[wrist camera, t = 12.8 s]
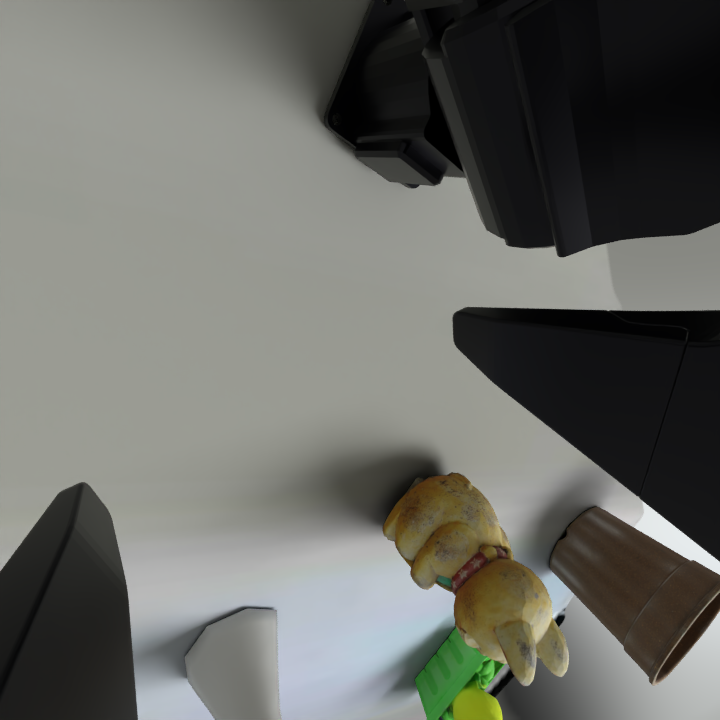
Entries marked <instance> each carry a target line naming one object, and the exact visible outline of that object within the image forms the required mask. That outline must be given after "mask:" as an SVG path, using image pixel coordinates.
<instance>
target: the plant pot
mask: <svg viewBox="0 0 720 720" xmlns="http://www.w3.org/2000/svg"><path fill="white" fill-rule="evenodd" d="M566 531H567V535H566V537H565V538H564V539H561V540H558V542H557V544H556V546H555V548H554V550H553V552H552V555H551V559H550V568H551V570H552V572H553V573H554V574H555V575H556V576H557V577H558V578H559V579H560V580H561V581H562V582H563V583H564V584H565V585H566V586H567V587H568V588H569V589H570V590H571V591H572V592H573V593H574V594H575V595H576V596H577V598H579V600H581V602H582V603H583V604H584V605H585V606H586V607H587V608H588V609H589V610H590V611H591V612H592V613H593V614H594V615H595V616H596V617H597V618H598V619H599V620H600V621H601V623H602V624H603V625H604V626H605V627H606V628H607V629H608V630H609V631H610V632H611V633H612V634H613V635H614V636H615V637H616V638H617V639H618V641H619V642H620V643H621V644H622V645H623V646H624V650H625V651H626V653H627V654H628V655H629V656H630V657H631V658H632V659H633V660H634V661H635V662H636V663H637V664H638V665H639V666H640V668H641V669H642V670H643V671H644V672H645V673H646V674H647V675H648V676H649V682H650V683H651V684H652V685H653V686H655V685H657V684H658V683H660V682H661V681H662V680H664V679H665V678H666V677H667V676H668V675H669V674H670V673H671V672H672V670H673V669H674V668H675V667H676V666H677V665H678V664H679V662H680V661H681V660H682V659H683V658H684V657H685V655H686V654H687V653H688V652H689V651H690V649H691V648H692V647H693V646H694V644H695V643H696V642H697V641H698V640H699V639H700V637H701V636H702V635H703V633H704V632H705V631H706V629H707V628H708V627H709V626H710V624H711V623H712V621H713V620H714V618H715V617H716V616H717V614H718V613H719V611H720V575H719V574H717V573H715V572H713V571H712V570H710V569H708V568H706V567H705V566H703V565H701V564H699V563H698V562H696V561H694V560H692V561H690V560H688V559H686V558H684V557H683V556H681V555H679V554H678V553H676V552H674V551H673V550H671V549H669V548H667V547H666V546H664V545H662V544H661V543H659V542H657V541H656V540H654V539H652V538H651V537H649V536H647V535H645V534H643V533H642V532H640V531H638V530H637V529H635V528H633V527H632V526H630V525H628V524H627V523H625V522H623V521H622V520H620V519H618V518H617V517H615V516H613V515H612V514H610V513H609V512H607V511H605V510H603V509H601V508H599V507H594V508H591V509H589V510H587V511H585V512H584V513H582V514H581V515H580V516H578V517H577V519H576V520H575V521H573V522H572V523H571V525H570V526H569V527H568V528H567V530H566Z"/></svg>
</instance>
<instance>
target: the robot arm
mask: <svg viewBox="0 0 720 720" xmlns="http://www.w3.org/2000/svg"><path fill="white" fill-rule="evenodd" d="M334 114H335V115H336V116H337V118H338V123H337V124H336V125H334V123H333V121H332V117H333V115H334ZM324 123H325V126H326V128H327V129H328V130H329V131H331V132H332V133H333V134H335V135H336V136H338V137H339V138H340V139H342V140H343V141H344V142H346V143H347V144H348V145H350V146H351V147H353V148H354V149H355V150H354V153H355V156H356V158H357V159H358V160H360V161H361V162H363V163H364V164H365V165H367V166H368V167H370V168H371V169H372V170H374V171H375V172H377V173H378V174H379V175H381V176H382V177H383V178H385V179H386V180H388V181H389V182H398V183H402V184H403V185H404V186H406V187H408V188H417V187H418V186H419V185H429V186H435V185H438V184H440V183H441V181H442V179H443V177H444V176H445V177H460V178H466V179H467V182H468V185H469V188H470V190H471V193H472V196H473V199H474V202H475V204H476V207H477V210H478V213H479V216H480V218H481V220H482V222H483V224H484V226H485V228H486V230H488V231H489V232H491V233H493V234H495V235H497V236H498V237H500V238H503V239H505V243H506V245H508V246H511V247H519V248H528V249H533V248H549V247H554V246H555V247H556V251H557V255H558V256H559V257H566V256H569V255H571V254H574V253H577V252H579V251H582V250H585V249H587V248H590V247H593V246H597V245H601V244H606V243H610V242H614V241H618V240H626V239H634V238H643V237H644V238H645V237H659V236H675V235H687V234H691V233H694V232H697V231H699V230H702V229H704V228H707V227H709V226H712V225H714V224H717V223H719V222H720V0H405V1H404V0H387V5H385V4H384V2H383V0H371V3H370V5H369V8H368V10H367V12H366V15H365V17H364V20H363V22H362V25H361V27H360V29H359V32H358V34H357V37H356V39H355V42H354V44H353V46H352V49H351V51H350V54H349V56H348V59H347V61H346V63H345V66H344V68H343V71H342V73H341V76H340V78H339V80H338V83H337V85H336V88H335V90H334V93H333V95H332V97H331V100H330V102H329V105H328V107H327V110H326V112H325V115H324ZM453 339H454V343H455V345H456V347H457V348H458V349H459V350H460V351H461V352H462V353H463V354H464V355H465V356H466V357H467V358H468V359H469V360H470V361H471V362H472V363H473V364H474V365H475V366H476V367H477V368H478V369H479V370H480V371H481V372H482V373H484V374H485V375H486V376H487V377H488V378H489V379H490V380H491V381H492V382H493V383H494V384H495V385H497V386H498V387H499V388H500V389H502V390H503V391H504V392H505V393H507V394H508V395H509V396H510V397H512V398H513V399H514V400H516V401H517V402H518V403H519V404H521V405H522V406H523V407H524V408H526V409H527V410H528V411H530V412H531V413H532V414H533V415H535V416H536V417H537V418H538V419H540V420H541V421H542V422H543V423H545V424H546V425H547V426H549V427H550V428H551V429H552V430H554V431H555V432H556V433H557V434H559V435H560V436H561V437H563V438H564V439H565V440H566V441H568V442H569V443H570V444H571V445H573V446H574V447H575V448H577V449H578V450H579V451H580V452H582V453H583V454H584V455H585V456H587V457H588V458H589V459H591V460H592V461H593V462H594V463H596V464H597V465H598V466H599V467H601V468H602V469H603V470H604V471H606V472H607V473H608V474H610V475H611V476H612V477H613V478H615V479H616V480H617V481H618V482H620V483H621V484H622V485H624V486H625V487H626V488H627V489H629V490H630V491H631V492H632V493H634V494H635V495H636V496H639V498H640V499H641V500H642V501H643V502H645V503H646V504H647V505H649V506H650V507H651V508H652V509H654V510H655V511H656V512H658V513H659V514H660V515H661V516H662V517H664V518H665V519H666V520H668V521H669V522H670V523H671V524H673V525H674V526H675V527H676V528H678V529H679V530H680V531H682V532H683V533H684V534H685V535H687V536H688V537H689V538H690V539H692V540H693V541H694V542H696V543H697V544H698V545H699V546H701V547H702V548H703V549H704V550H706V551H707V552H708V553H709V554H711V555H712V556H713V557H715V558H716V559H717V560H718V561H720V310H704V311H615V310H610V311H606V310H571V309H529V308H487V307H466V308H463V309H461V310H459V311H457V312H455V313H454V315H453ZM0 720H138V715H137V702H136V689H135V677H134V664H133V651H132V638H131V626H130V613H129V600H128V591H127V585H126V580H125V575H124V570H123V566H122V562H121V557H120V553H119V548H118V544H117V539H116V535H115V530H114V526H113V521H112V518H111V515H110V513H109V511H108V509H107V508H106V506H105V505H104V504H103V503H102V501H101V500H100V499H99V497H98V496H97V495H96V493H95V492H94V491H93V489H92V488H91V487H90V486H89V485H88V484H87V483H84V482H81V483H78V484H76V485H74V486H72V487H69V488H67V489H65V490H63V491H61V492H60V493H59V494H58V495H57V496H56V497H55V499H54V500H53V501H52V503H51V504H50V505H49V507H48V508H47V509H46V511H45V512H44V514H43V515H42V516H41V518H40V519H39V520H38V522H37V523H36V524H35V526H34V527H33V528H32V530H31V531H30V532H29V534H28V535H27V536H26V538H25V539H24V540H23V542H22V543H21V544H20V546H19V547H18V548H17V550H16V551H15V552H14V554H13V555H12V556H11V558H10V559H9V561H8V562H7V563H6V565H5V566H4V567H3V569H2V570H1V571H0Z"/></svg>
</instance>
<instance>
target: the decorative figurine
mask: <svg viewBox="0 0 720 720" xmlns="http://www.w3.org/2000/svg"><path fill="white" fill-rule="evenodd" d="M383 533H384V536H386V537H387V538H388V540H391V541H395V545H396V548H397V550H398V551H399V553H400V555H401V556H402V557H403V558H404V560H405V561H406V562H407V563H408V565H409V566H410V567H411V572H410V573H411V577H412V579H413V580H414V582H415V583H416V584H417V585H418V586H419V587H421V588H422V589H426V590H428V589H430V588H431V587H433V585H434V584H438V585H439V586H440V587H442V588H444V589H446V590H448V591H450V592H453V593H454V595H456V598H455V603H454V617H455V626H456V628H457V630H458V632H459V634H460V636H461V638H462V639H463V641H464V642H465V643H466V644H467V645H468V646H470V647H472V648H476V649H477V650H478V651H479V652H480V654H482V655H483V656H487V657H488V658H490V659H492V660H495V661H498V662H500V663H503V664H506V663H508V665H509V667H510V669H511V670H512V672H513V674H514V676H515V677H516V678H517V680H518V681H519V682H520V683H521V684H522V685H524V686H529V684H530V683H531V682H532V681H533V678H534V674H535V667H536V657H539V658H540V659H541V660H542V662H543V663H544V664H545V665H546V667H547V668H548V669H549V670H550V671H551V672H552V673H553V674H555V675H557V676H560V677H563V675H564V674H565V672H566V671H567V668H568V661H569V654H568V648H567V645H566V641H565V637H564V636H563V634H562V632H561V631H560V629H559V627H558V626H557V624H556V622H555V621H554V620H553V618H552V602H551V599H550V597H549V594H548V592H547V589H546V587H545V586H544V584H543V583H542V581H541V580H540V579H539V578H538V577H537V576H536V575H535V574H534V573H533V572H532V571H531V570H530V569H529V568H527V567H525V566H524V565H522V564H520V563H518V562H516V561H514V559H513V554H512V551H511V548H510V545H509V541H508V538H507V536H506V534H505V532H504V531H503V530H502V528H501V527H500V526H499V522H498V519H497V517H496V515H495V512H494V510H493V508H492V506H491V505H490V503H489V501H488V500H487V499H486V498H485V496H484V495H483V494H482V493H481V492H480V491H479V490H478V489H476V488H475V487H474V486H472V485H471V482H470V481H469V480H468V479H467V478H466V477H464V476H463V475H461V474H459V473H452V472H451V473H450V474H449V475H447V476H445V475H439V476H434V477H432V476H430V477H428V478H427V479H426V480H424V479H422V478H419V477H418V478H416V480H415V481H414V482H413V484H412V485H411V486H410V488H409V489H408V490H407V492H406V493H405V495H404V496H403V497H402V498H401V499H400V500H399V501H398V502H397V503H396V505H395V506H394V508H393V509H392V511H391V512H390V514H389V516H388V518H387V519H386V521H385V523H384V525H383Z"/></svg>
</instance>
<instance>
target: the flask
mask: <svg viewBox="0 0 720 720" xmlns="http://www.w3.org/2000/svg"><path fill="white" fill-rule="evenodd" d="M184 659H185V665H186V671H187V677H188V682H189V683H190V685H191V686H192V688H193V689H194V691H195V692H196V694H197V695H198V696H199V698H200V699H201V701H202V702H203V703H204V705H205V706H206V707H207V709H208V710H209V712H210V713H211V714H212V716H213V717H214V719H215V720H282V719H281V713H280V702H279V678H278V640H277V610H267V609H245V610H243V611H240V612H238V613H236V614H234V615H231V616H229V617H227V618H225V619H222V620H220V621H218V622H216V623H213V624H211V625H209V626H207V627H206V628H205V630H204V631H203V633H202V634H201V635H200V637H199V638H198V640H197V641H196V642H195V644H194V645H193V647H192V648H191V649H190V651H189V652H188V654H187V655H186V656H185V658H184Z"/></svg>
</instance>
